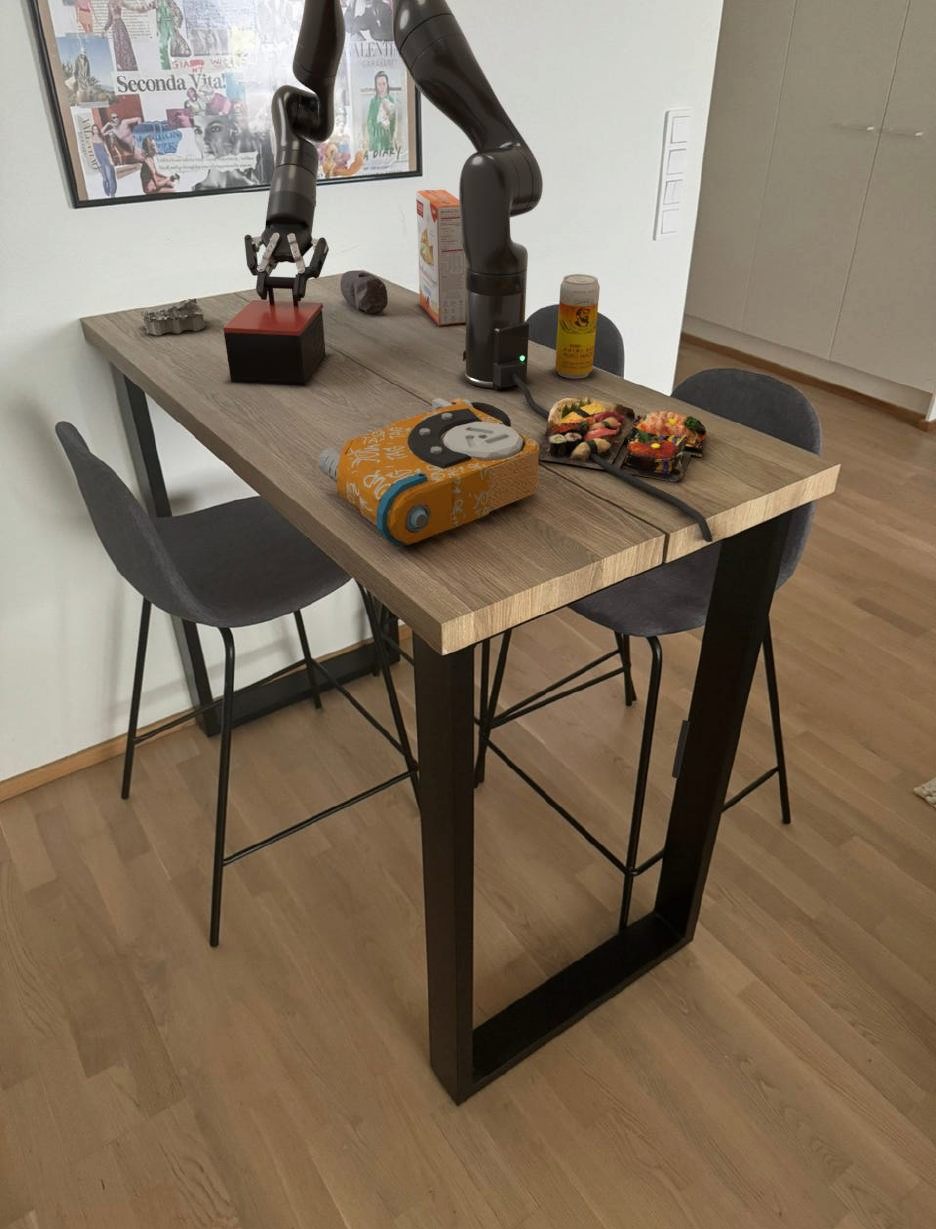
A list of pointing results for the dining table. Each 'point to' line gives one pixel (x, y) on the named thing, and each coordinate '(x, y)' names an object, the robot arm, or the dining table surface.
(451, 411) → the device
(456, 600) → the dining table surface
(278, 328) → the lid
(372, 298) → the perforated stone tool
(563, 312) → the beer can
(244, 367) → the black open box
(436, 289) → the cracker box
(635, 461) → the food
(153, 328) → the egg carton
